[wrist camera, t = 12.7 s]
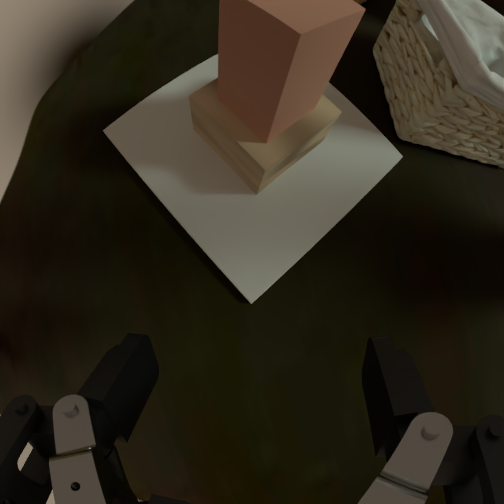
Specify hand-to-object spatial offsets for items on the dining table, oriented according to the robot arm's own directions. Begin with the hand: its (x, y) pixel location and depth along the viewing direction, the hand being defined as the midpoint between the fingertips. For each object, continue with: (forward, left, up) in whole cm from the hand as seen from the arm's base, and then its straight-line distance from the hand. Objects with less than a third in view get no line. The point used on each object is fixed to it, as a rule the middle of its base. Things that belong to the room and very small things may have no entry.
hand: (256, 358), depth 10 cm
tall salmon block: (-12, -10, -7) cm, 17 cm away
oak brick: (-12, -11, -12) cm, 20 cm away
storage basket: (-36, 0, -13) cm, 38 cm away
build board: (-12, -11, -13) cm, 21 cm away
